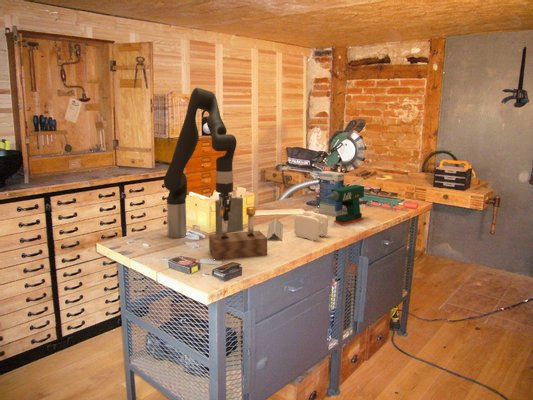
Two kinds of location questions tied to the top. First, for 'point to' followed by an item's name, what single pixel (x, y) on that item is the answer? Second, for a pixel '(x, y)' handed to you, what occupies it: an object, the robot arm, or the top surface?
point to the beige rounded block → (311, 225)
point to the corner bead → (275, 229)
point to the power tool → (348, 202)
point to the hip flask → (231, 215)
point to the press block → (237, 245)
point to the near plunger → (224, 226)
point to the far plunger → (250, 219)
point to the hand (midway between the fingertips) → (224, 218)
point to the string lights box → (326, 184)
